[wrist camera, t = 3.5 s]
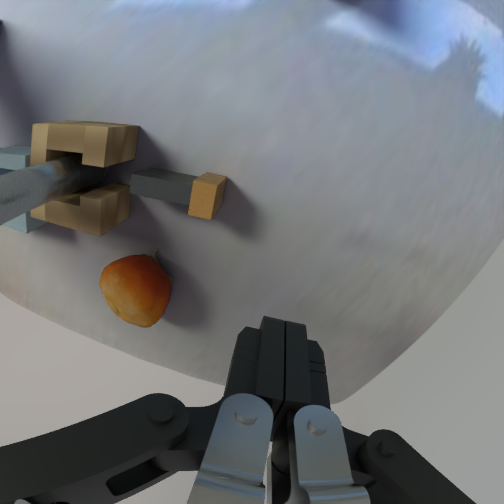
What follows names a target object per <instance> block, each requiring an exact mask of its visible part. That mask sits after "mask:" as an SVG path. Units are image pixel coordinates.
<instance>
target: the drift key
mask: <svg viewBox="0 0 504 504" xmlns="http://www.w3.org/2000/svg"><path fill="white" fill-rule="evenodd" d="M226 179H227V177H226V176H221V175H217V174H212V173H205V174H203V175H202V176H200V177H196V176H191V175H186V174H181V173H176V172H171V171H166V170H160V169H155V168H147V169H144V170H142V171H139V172H136V173H133V174H132V176H131V185H130V193H131V194H136V195H141V196H145V197H150V198H155V199H160V200H164V201H169V202H174V203H178V204H183V205H187V206H189V211H188V215H191V216H195V217H199V218H204V219H208V220H211V219H212V218H213V216H214V215H215V214H216V212H217V211H218V210H219V208H220V207H221V204H222V199H223V194H224V189H225V184H226Z"/></svg>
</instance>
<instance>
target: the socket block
mask: <svg viewBox="0 0 504 504" xmlns="http://www.w3.org/2000/svg"><path fill="white" fill-rule="evenodd" d="M138 132H139V126H136V125H126V124H115V123H103V122H88V121H55V122H44V123H34V124H33V130H32V141H31V157H30V166H32V165H36V164H40V163H43V162H47V161H51V160H55V159H59V158H63V157H68V156H72V155H77V154H80V153H83V158H82V164H85V165H91V166H98V167H107V166H110V165H114V164H117V163H121V162H125V161H128V160H132V159H135V152H136V145H137V138H138ZM130 195H131V193H130V186H126V185H121V184H115V183H110V184H108V185H105V186H103V187H101V188H98V189H96V188H90V187H84V188H82V189H79V190H77V191H74V192H72V193H69V194H67V195H64V196H62V197H60V198H57V199H55V200H53V201H50V202H48V203H46V204H44V205H41V206H39V207H37V208H35V209H33V210H31V211H30V213H31V217H33V218H36V219H40V220H43V221H47V222H50V223H53V224H57V225H60V226H64V227H67V228H71V229H74V230H78V231H82V232H85V233H89V234H92V235H96V236H102V235H103V234H105V233H106V232H108V231H109V230H111V229H112V228H113V227H115V226H116V225H118V224H119V223H121V222H122V221H124V220H125V219H127V218H128V217H129V206H130Z"/></svg>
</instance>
